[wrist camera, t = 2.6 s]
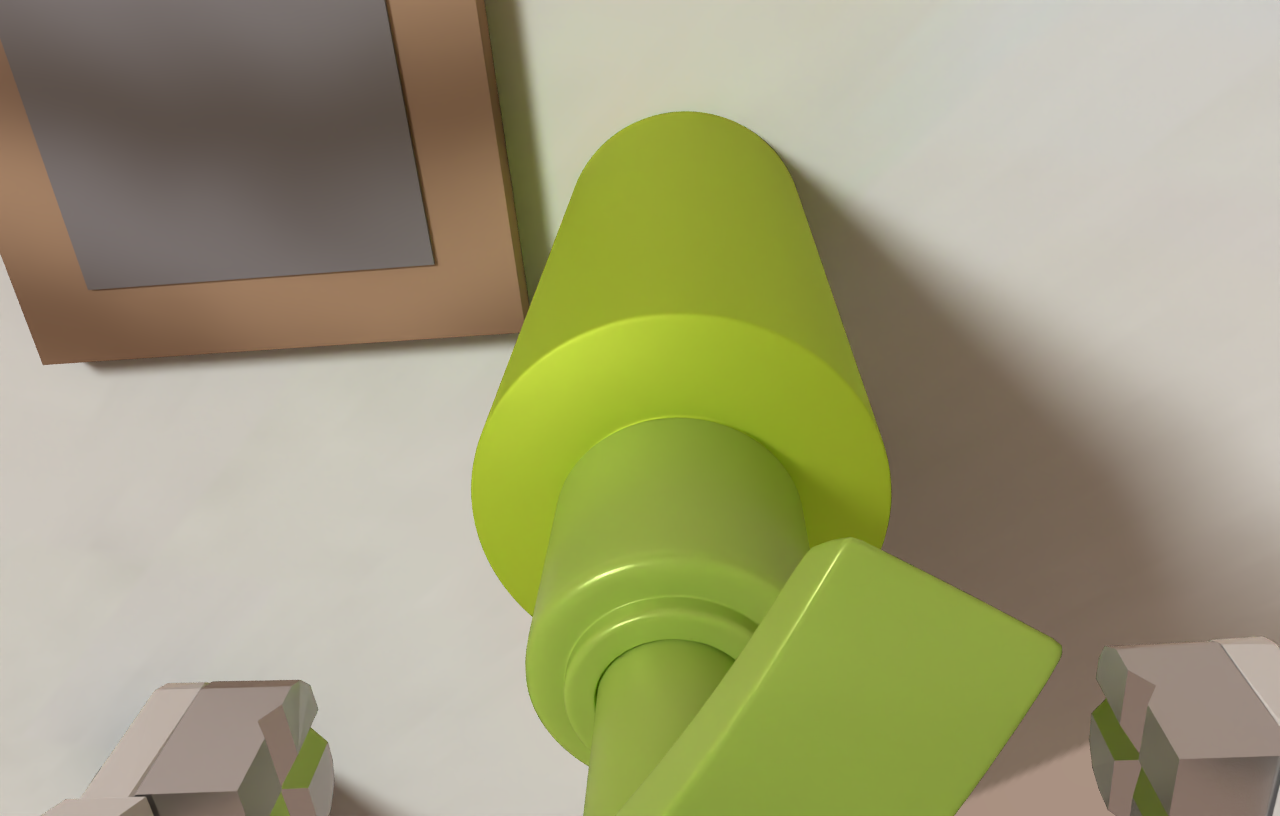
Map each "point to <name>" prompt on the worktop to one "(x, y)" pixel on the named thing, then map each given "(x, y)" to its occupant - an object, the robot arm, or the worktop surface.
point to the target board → (253, 175)
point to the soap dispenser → (724, 514)
